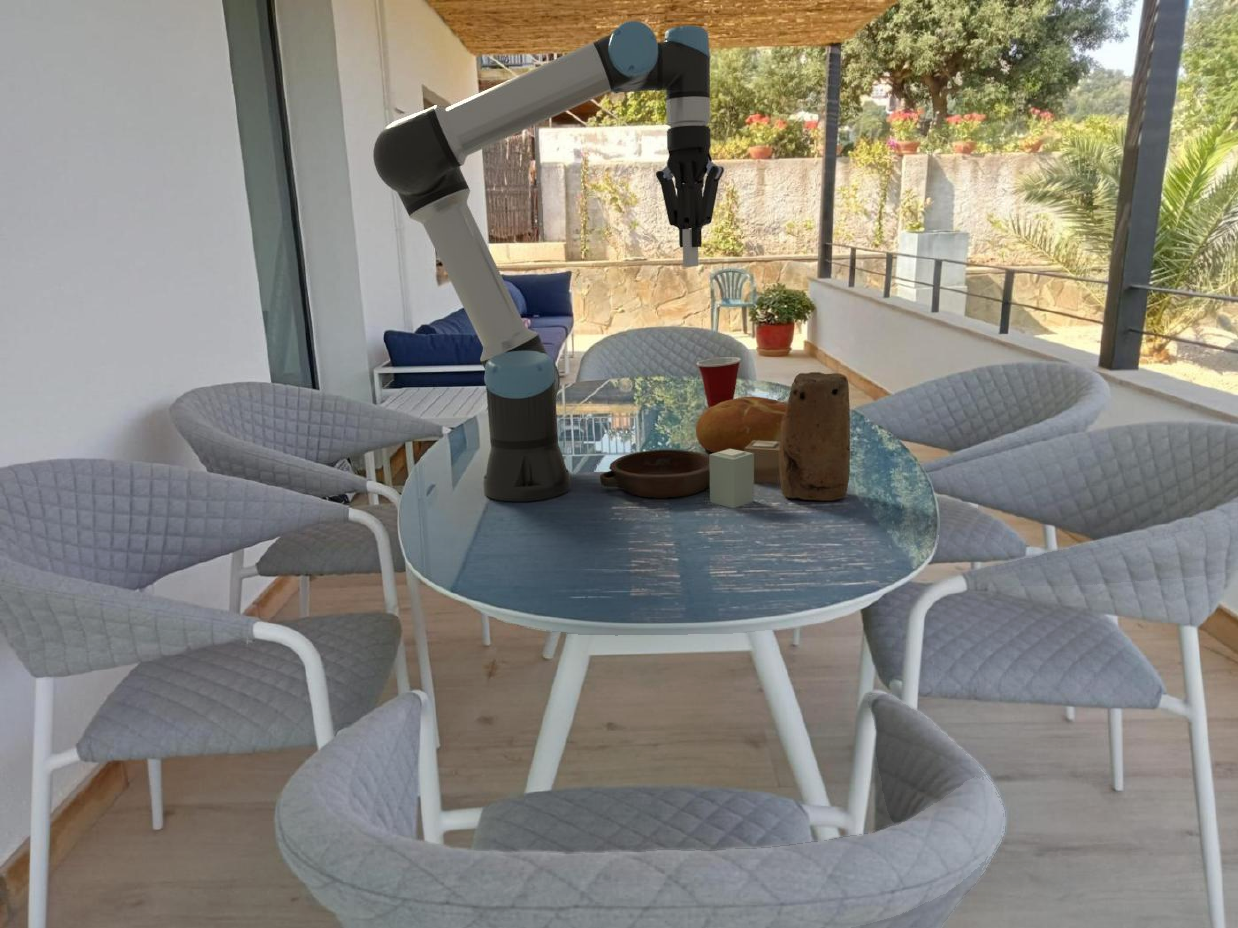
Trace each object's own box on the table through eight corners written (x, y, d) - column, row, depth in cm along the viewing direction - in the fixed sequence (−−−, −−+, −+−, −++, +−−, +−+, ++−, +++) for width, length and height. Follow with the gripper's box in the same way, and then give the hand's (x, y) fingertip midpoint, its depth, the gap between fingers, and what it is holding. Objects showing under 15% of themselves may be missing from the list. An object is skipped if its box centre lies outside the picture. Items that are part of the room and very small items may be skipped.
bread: (806, 466, 161) (807, 413, 158) (683, 460, 169) (682, 409, 166) (820, 437, 182) (821, 390, 179) (710, 433, 189) (710, 388, 187)
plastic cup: (696, 404, 220) (695, 356, 217) (739, 403, 220) (739, 355, 217) (697, 413, 210) (696, 363, 207) (743, 411, 209) (742, 362, 206)
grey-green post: (733, 508, 138) (733, 457, 136) (710, 502, 142) (709, 452, 140) (753, 501, 141) (753, 451, 139) (730, 495, 145) (729, 446, 143)
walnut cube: (778, 484, 150) (778, 448, 149) (744, 481, 153) (744, 446, 151) (785, 474, 156) (786, 440, 154) (752, 472, 158) (752, 438, 156)
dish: (602, 477, 160) (601, 450, 158) (723, 473, 159) (723, 446, 158) (597, 506, 143) (596, 477, 142) (733, 502, 142) (733, 472, 141)
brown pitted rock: (844, 489, 145) (848, 370, 140) (850, 503, 138) (854, 378, 133) (778, 489, 147) (779, 371, 142) (780, 503, 140) (781, 379, 135)
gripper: (732, 124, 150) (733, 265, 156) (669, 131, 158) (672, 265, 164) (708, 121, 144) (710, 267, 150) (645, 129, 152) (649, 267, 158)
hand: (690, 266), depth 157 cm, fingers closed
